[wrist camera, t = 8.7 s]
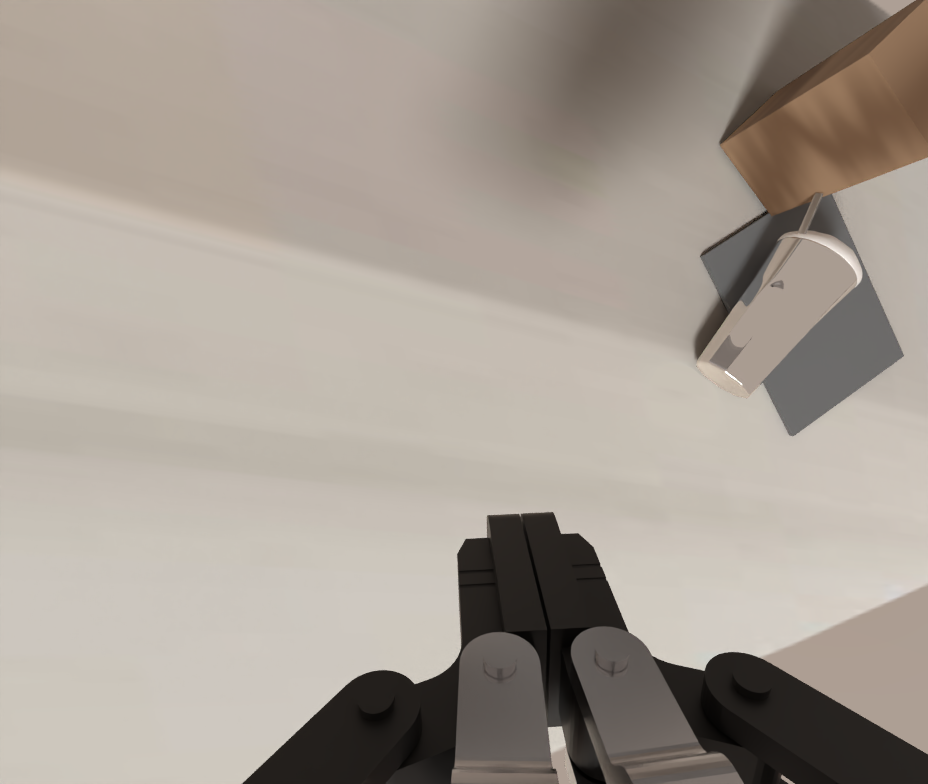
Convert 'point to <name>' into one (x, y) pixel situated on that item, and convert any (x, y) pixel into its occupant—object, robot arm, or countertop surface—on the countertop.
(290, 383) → the countertop surface
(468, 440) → the countertop surface
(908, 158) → the walnut block
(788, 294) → the milkshake
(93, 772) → the countertop surface
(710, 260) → the mat
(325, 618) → the countertop surface
